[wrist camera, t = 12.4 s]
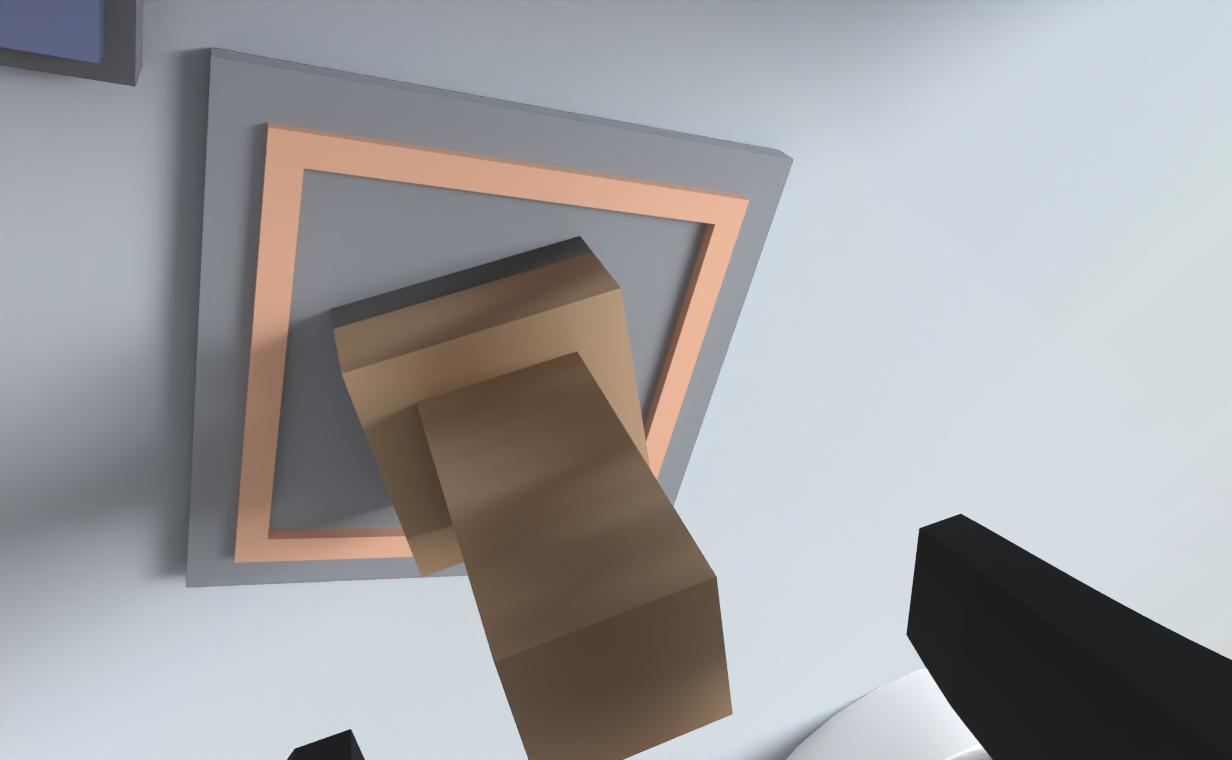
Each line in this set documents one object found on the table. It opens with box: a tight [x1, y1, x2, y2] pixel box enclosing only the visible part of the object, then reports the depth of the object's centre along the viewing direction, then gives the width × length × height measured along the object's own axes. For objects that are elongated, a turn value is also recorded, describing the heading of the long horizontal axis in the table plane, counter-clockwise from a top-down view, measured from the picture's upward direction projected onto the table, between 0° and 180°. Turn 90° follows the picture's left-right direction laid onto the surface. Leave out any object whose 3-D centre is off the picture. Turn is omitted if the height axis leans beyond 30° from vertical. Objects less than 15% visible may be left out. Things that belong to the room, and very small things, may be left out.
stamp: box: [330, 236, 732, 760], centre depth 16 cm, size 5×5×8 cm
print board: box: [186, 48, 794, 587], centre depth 19 cm, size 11×11×1 cm
